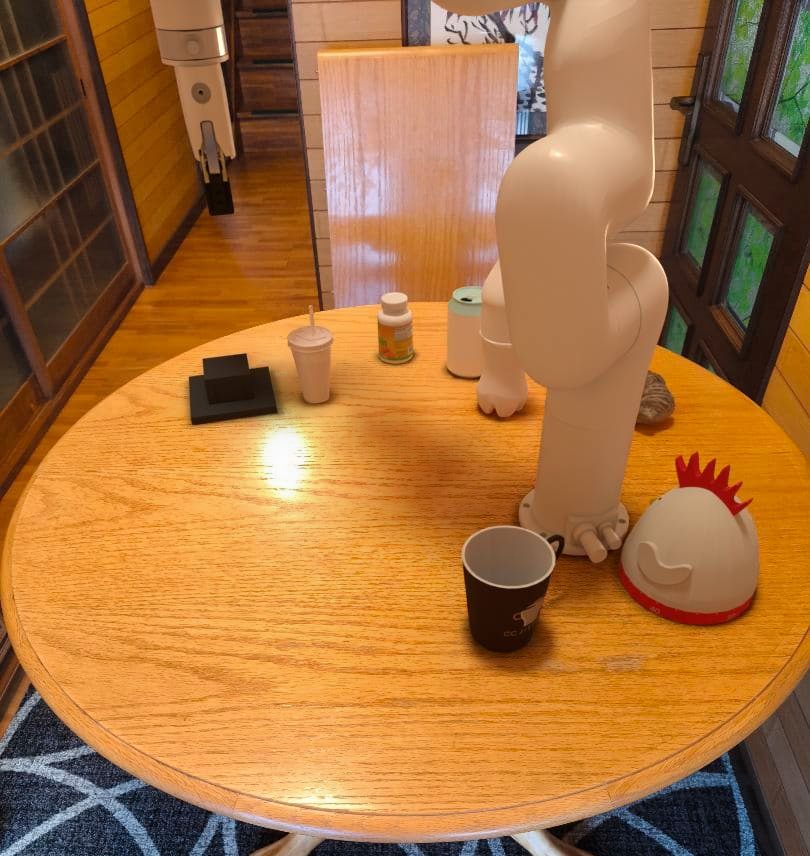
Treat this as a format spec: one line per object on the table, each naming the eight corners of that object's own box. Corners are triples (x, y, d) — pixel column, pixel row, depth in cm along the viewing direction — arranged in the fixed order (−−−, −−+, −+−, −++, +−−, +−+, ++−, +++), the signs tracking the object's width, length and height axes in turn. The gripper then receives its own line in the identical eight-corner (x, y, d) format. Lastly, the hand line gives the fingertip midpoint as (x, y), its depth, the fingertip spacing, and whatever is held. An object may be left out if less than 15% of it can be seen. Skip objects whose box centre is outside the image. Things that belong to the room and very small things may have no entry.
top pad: (254, 398, 110) (250, 373, 107) (209, 404, 108) (203, 379, 106) (250, 377, 114) (246, 352, 112) (207, 382, 113) (202, 358, 111)
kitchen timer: (667, 519, 89) (697, 408, 79) (777, 579, 81) (826, 464, 72) (592, 574, 83) (614, 460, 73) (704, 646, 75) (747, 529, 65)
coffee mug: (473, 669, 73) (477, 596, 66) (448, 606, 79) (450, 533, 73) (586, 646, 75) (601, 572, 68) (553, 586, 81) (564, 514, 75)
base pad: (277, 413, 109) (275, 393, 107) (192, 425, 107) (187, 405, 105) (269, 373, 118) (266, 354, 115) (190, 383, 116) (185, 364, 113)
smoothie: (331, 410, 109) (322, 317, 100) (288, 406, 110) (276, 314, 101) (343, 387, 114) (335, 297, 104) (302, 384, 115) (291, 294, 106)
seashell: (636, 444, 102) (680, 422, 105) (645, 400, 97) (690, 379, 100) (589, 410, 108) (631, 390, 111) (595, 368, 103) (639, 348, 105)
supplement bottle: (373, 352, 122) (370, 294, 115) (404, 345, 123) (402, 287, 117) (387, 367, 118) (384, 307, 112) (418, 360, 120) (418, 300, 113)
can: (494, 380, 114) (499, 303, 107) (447, 380, 115) (449, 304, 107) (490, 357, 120) (495, 283, 112) (445, 358, 120) (447, 284, 112)
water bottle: (467, 414, 107) (474, 233, 91) (487, 390, 112) (498, 215, 96) (515, 426, 105) (531, 243, 88) (533, 401, 110) (552, 223, 93)
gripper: (230, 54, 81) (256, 229, 93) (223, 33, 92) (246, 192, 104) (158, 59, 80) (193, 236, 92) (159, 37, 91) (191, 198, 103)
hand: (221, 212), depth 98 cm, fingers closed
